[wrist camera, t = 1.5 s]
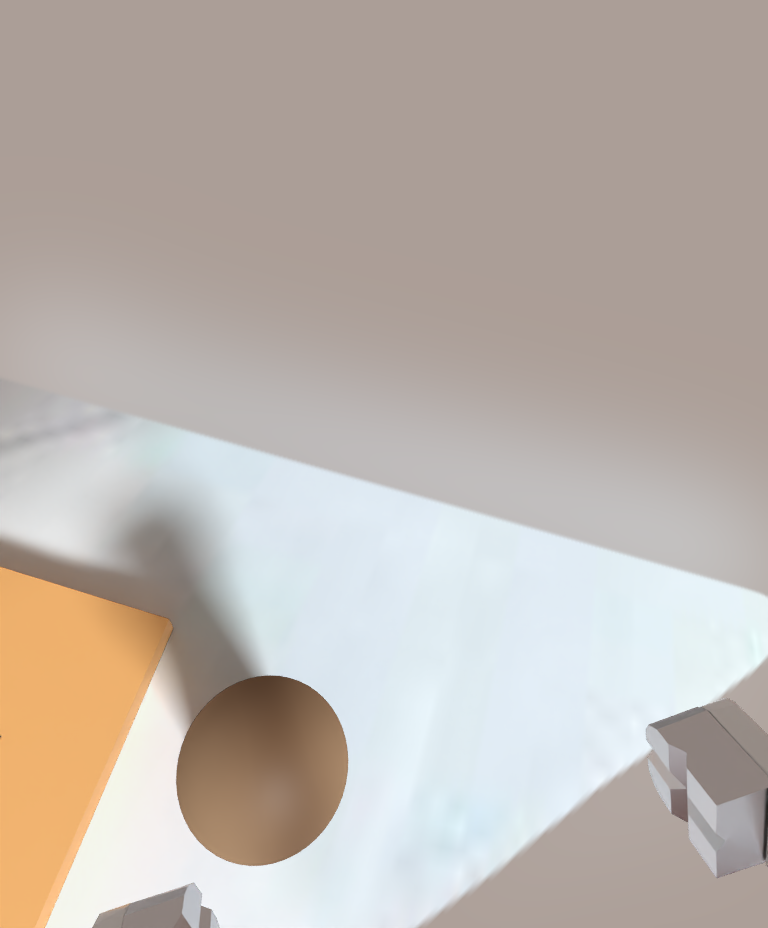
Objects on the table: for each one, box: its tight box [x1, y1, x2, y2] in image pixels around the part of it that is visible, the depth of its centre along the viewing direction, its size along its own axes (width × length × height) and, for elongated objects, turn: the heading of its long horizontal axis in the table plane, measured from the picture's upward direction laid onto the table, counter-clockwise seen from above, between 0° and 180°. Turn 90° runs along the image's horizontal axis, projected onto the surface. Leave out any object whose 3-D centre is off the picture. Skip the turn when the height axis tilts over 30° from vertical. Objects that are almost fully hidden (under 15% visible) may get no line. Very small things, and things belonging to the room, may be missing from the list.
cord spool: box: [176, 676, 348, 866], centre depth 29 cm, size 6×6×15 cm
